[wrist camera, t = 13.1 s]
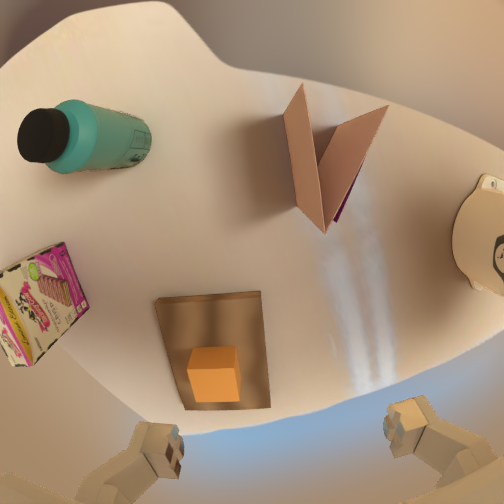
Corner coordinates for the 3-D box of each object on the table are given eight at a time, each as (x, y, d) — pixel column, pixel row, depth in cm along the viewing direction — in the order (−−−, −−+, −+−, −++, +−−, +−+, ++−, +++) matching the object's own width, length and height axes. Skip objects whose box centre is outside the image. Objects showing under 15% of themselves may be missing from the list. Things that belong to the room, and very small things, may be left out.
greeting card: (303, 209, 37) (334, 239, 22) (248, 182, 36) (245, 194, 21) (344, 129, 34) (398, 111, 19) (290, 100, 33) (313, 61, 18)
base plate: (260, 290, 40) (260, 297, 38) (270, 399, 45) (270, 407, 43) (158, 298, 40) (154, 304, 38) (187, 402, 46) (185, 410, 44)
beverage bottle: (133, 108, 33) (35, 72, 14) (168, 139, 34) (83, 121, 15) (102, 146, 34) (-7, 146, 15) (135, 178, 36) (34, 200, 16)
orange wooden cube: (236, 345, 40) (234, 367, 35) (241, 378, 42) (239, 401, 37) (193, 347, 40) (186, 369, 35) (201, 379, 42) (196, 402, 37)
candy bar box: (92, 307, 41) (34, 368, 25) (69, 312, 41) (12, 369, 26) (65, 238, 38) (-10, 278, 22) (43, 247, 38) (-29, 286, 22)
